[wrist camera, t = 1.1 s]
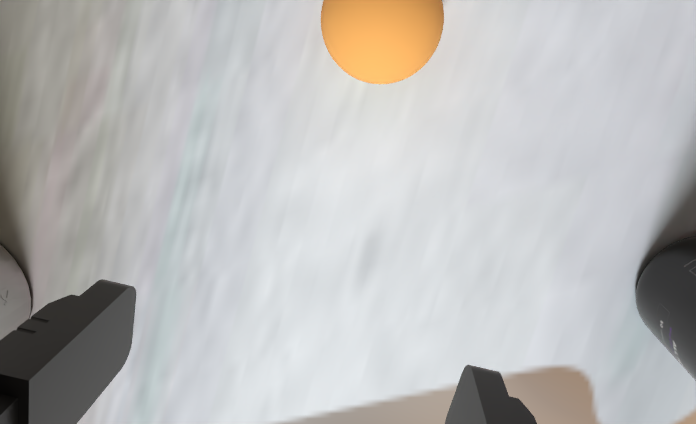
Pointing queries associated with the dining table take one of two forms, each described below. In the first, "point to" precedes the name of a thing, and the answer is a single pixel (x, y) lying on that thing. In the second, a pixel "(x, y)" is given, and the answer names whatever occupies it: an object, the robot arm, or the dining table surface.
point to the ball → (381, 36)
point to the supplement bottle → (672, 300)
